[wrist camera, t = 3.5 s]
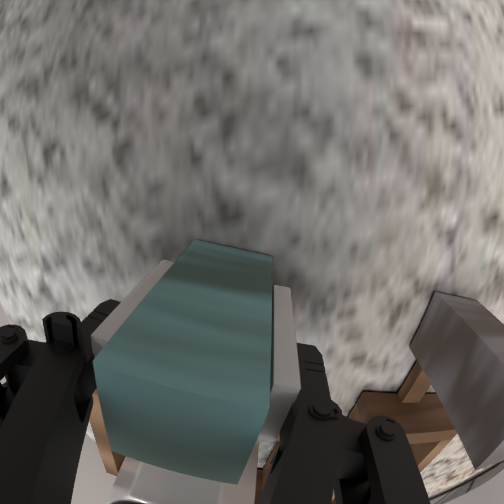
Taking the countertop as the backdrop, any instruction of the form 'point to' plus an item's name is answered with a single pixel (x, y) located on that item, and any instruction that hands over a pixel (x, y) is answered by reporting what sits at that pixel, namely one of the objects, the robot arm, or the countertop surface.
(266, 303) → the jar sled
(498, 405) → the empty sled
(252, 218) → the countertop surface
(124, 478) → the jar
